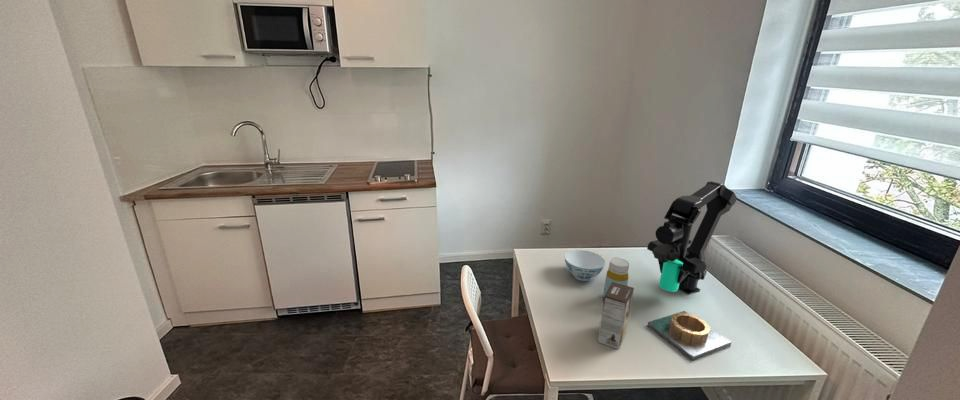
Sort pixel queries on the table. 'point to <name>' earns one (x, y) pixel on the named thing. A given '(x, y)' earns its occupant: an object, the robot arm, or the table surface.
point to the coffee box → (615, 315)
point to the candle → (670, 275)
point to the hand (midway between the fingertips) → (670, 277)
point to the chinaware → (584, 264)
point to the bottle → (616, 273)
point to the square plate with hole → (689, 335)
